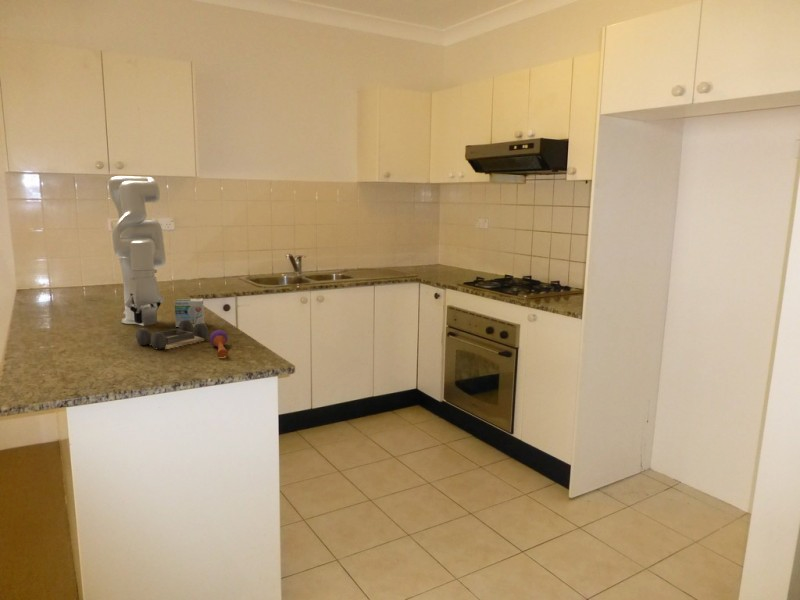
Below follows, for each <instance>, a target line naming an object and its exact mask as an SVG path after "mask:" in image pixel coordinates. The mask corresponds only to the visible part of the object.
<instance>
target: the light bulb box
mask: <svg viewBox="0 0 800 600" xmlns="http://www.w3.org/2000/svg"><path fill="white" fill-rule="evenodd" d="M204 306H205V305H204V298H177V299H176V300H175V301H174V318H175V319H174V320H175V321H174V322H175V328H176V327H179V324H180V322H181V321H184V320H189V321H190V322H191V323H192V325H193V326H195V325H196V324H200V323H204V324H205V309H204V308H205V307H204Z"/></svg>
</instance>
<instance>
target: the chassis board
mask: <svg viewBox="0 0 800 600" xmlns="http://www.w3.org/2000/svg"><path fill="white" fill-rule="evenodd" d="M135 335H136V336H135V337H136V340H137V343H138V345H140V344H142V345H144V346H147V344H151V345H152V347H153V349H155V348H157V349H159V350H161V349H162V348H172V347H176V346H181V345H185V344H190V343H194V342H198V341H202V340H204V341H205V340H206V338H207V339H208V336H209V328H208V325H206V323H205V322H204V323H200V324H196V325H195V326H194V327H193V325H192V323H191V322H190V321H189V320H184V321H181V322H180V324H179V328H174V329H167V330H163V331H162V330H161V331H155V332H152V333H151V332H150V330H149V329H148V328H147V327H142V328H138V329H137V330H136V332H135ZM151 345H150V346H151ZM162 350H163V349H162Z"/></svg>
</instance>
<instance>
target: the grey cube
mask: <svg viewBox="0 0 800 600" xmlns="http://www.w3.org/2000/svg"><path fill="white" fill-rule="evenodd" d="M139 313H141V324H138V323H136V324H135V325H139V326H143V327H145V326H150V325H154V324H155V325H156V324H158V310H157V311H156V307H152V306H148V305H147V306H142V307H141V308H140V312H139Z"/></svg>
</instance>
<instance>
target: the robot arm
mask: <svg viewBox="0 0 800 600" xmlns="http://www.w3.org/2000/svg"><path fill="white" fill-rule="evenodd" d="M108 189H109V194H110V196H111V199H112V202H113V203H114V206H115V208H116V210H117V215H118V220H117V221H116V223H115V224H114V226H113V228H112V234H111V235H112V236H111V237H112V243H113V245H112V246H113V252H114V254H115V256H116V257H117V258H118V259H119V264H120V267H121V275H122V284H123V285H122V286H123V298H124V300H123V301H124V311H123V312H122V314H123V315H124V316H125V317H123V318H121V323H123V324H125V325H126V324H127V325H139V324H141V313H139V312H140V308H141V307H142V306H147V305H148V306H152V307H156V311H157V312H158V310H159V307H160V306H161V304H162V303H163V302H164V301H165V298H164V297H163V296H162V295H161V294H160V290H159V283H158V280H157V277H156V276H155V274H157V273H158V268H162V267H164V266H165V264H166V249H165V243H164V242H165V241H164V234H163V229H162V226H161V223H160V222H159V221H157V220H154V219H146V218H147V209H146V203H147V204H148V203H152V204H153V203H158V202H159V201H160V196H161V191H160V188H159V184H158V182H157V181H156V180H155V178H154V177H151V176H140V175H139V176H138V175H137V176H136V175H135V176H133V175H117V176H113V177H111V178H110V179H109V181H108ZM136 323H138V324H136Z"/></svg>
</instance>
